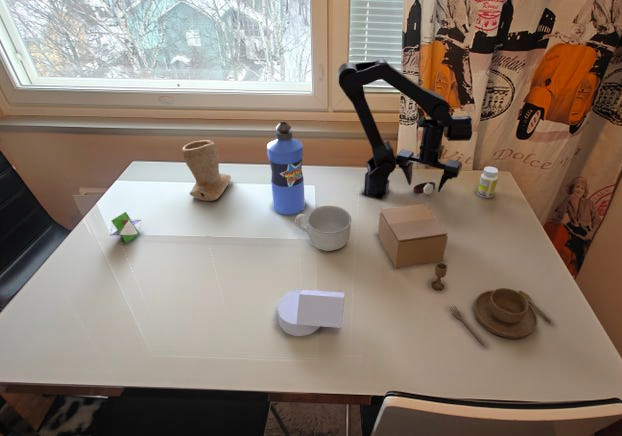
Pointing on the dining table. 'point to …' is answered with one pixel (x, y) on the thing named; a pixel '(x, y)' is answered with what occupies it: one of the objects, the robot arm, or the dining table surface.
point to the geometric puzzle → (125, 227)
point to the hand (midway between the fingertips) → (424, 188)
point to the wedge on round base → (310, 311)
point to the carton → (413, 241)
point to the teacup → (327, 227)
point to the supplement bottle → (488, 182)
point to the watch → (424, 188)
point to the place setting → (499, 309)
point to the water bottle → (286, 171)
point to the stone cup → (205, 170)
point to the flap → (407, 213)
